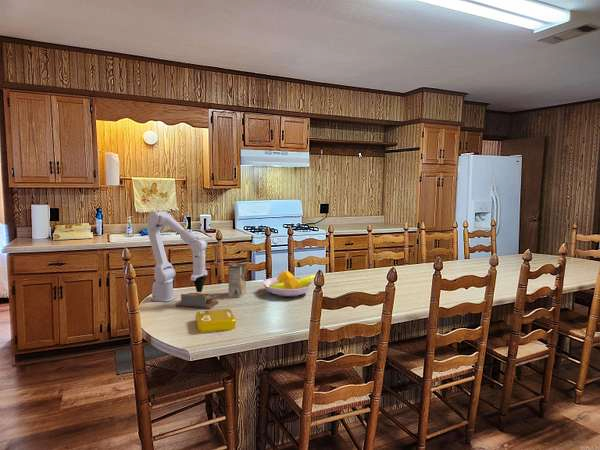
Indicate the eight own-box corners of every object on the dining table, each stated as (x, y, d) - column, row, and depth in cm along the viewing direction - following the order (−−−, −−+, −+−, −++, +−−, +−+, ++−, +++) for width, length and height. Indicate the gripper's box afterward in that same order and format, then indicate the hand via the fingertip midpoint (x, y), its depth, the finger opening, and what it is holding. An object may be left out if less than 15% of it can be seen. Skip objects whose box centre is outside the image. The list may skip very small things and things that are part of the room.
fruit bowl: (255, 297, 205) (256, 276, 203) (273, 284, 231) (273, 265, 229) (308, 303, 197) (309, 281, 196) (320, 289, 223) (321, 269, 222)
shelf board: (176, 306, 188) (176, 304, 188) (185, 300, 198) (185, 298, 198) (210, 309, 185) (210, 307, 185) (218, 302, 195) (218, 301, 195)
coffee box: (234, 292, 214) (234, 262, 212) (245, 293, 212) (246, 263, 211) (228, 297, 205) (228, 266, 203) (239, 298, 204) (240, 267, 202)
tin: (217, 295, 196) (208, 298, 188) (216, 301, 196) (208, 305, 188) (189, 292, 200) (180, 295, 191) (189, 298, 200) (180, 301, 192)
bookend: (181, 307, 188) (181, 294, 187) (182, 306, 189) (182, 293, 188) (205, 309, 185) (205, 296, 185) (206, 308, 187) (206, 295, 186)
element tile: (236, 330, 162) (236, 319, 162) (198, 334, 157) (198, 322, 157) (230, 317, 176) (230, 307, 176) (195, 321, 171) (195, 310, 171)
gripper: (200, 268, 183) (200, 296, 185) (212, 261, 197) (213, 288, 199) (186, 267, 184) (186, 295, 186) (199, 260, 199) (199, 287, 200)
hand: (199, 291), depth 193 cm, fingers closed
